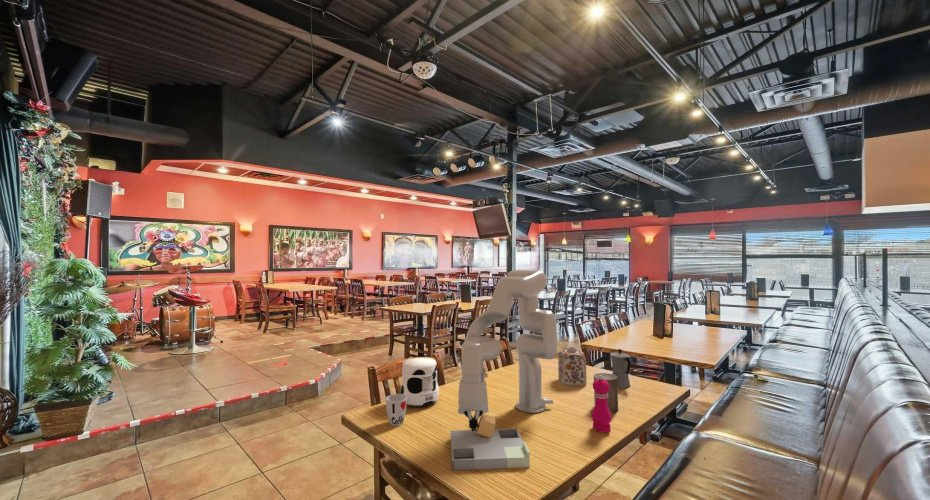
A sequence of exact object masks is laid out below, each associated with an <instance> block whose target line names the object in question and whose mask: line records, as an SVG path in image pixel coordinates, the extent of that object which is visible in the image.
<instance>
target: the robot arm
mask: <svg viewBox="0 0 930 500" xmlns="http://www.w3.org/2000/svg"><path fill="white" fill-rule="evenodd" d="M547 282H548V280H547V275H546V274H545V272H543V271H541V270H536V269H535V270H532V269H531V270H529V269H527V270H525V269H516V270H511V271H509V272H507V275H506V276H503V277H501V278H499V280H498V281H497V283H496V286H495V288H494V291H493V293H492V296H491V298H490V301H489V304H488V307H487V309H486V310H485V311H483V312H481V314H479V316H477V317H476V318H475V319H474V320H473V321H472V322H471V324H470V325H469V328H468V330H467V332H466V334H465V338H464V342H463V343H462V345H461V379H460V380H459V385H458V399H457V400H458V409H457V412H458V415H459V414H460V415H464V416H466V418H468V428H469V429H470V430H471V431H476V430H477V428H478V423H479V420H480V417H481V415H482V414H486V413H489V411H490V410H489V402H488V401H489V399H488V389H487V382H486V378H488V375H489V374H488V373H486V372H485V371H484V361H491V360H495V359H497V358H498V357H499V356H500V355H501V353H502V347H503V346H502V344H501V342H500V341H499V340H497V339H496V338H492V337H487V336H482V334H483V332H484V331H485V330H486V329H487V328H489V327H490V326H492V325H493V326H494V325H496V324H497V323H500V322H502V321H505V320H507V319H508V318H509V315H510V314H511V313H510V312H511V311H512V306H513V305H514V301H515V299H516V300H518V321H519V327H520V328H521V329H522V330H524V331H527V333H521V334H520V335H519V336H518V337H517V339H516V342H515V345H516V346H515V347H516V351H517V356H518V387H519V388H518V393H519V394H518V396H519V397H518V399H519V400H518V401H517V402H515V409H517V410H518V411H521V412H523V413H526V414H538V413H542V412H544V411H545V410H546V404H549V405H552V404H554V401H553V398H549V397H544V396H542V391H543V390H542V365H541V362H540V360H539V359H543V360H549V361H550V360H553V359H555V358H556V356H557V353H558V325H557V324H558V322H557V318H556V315H555V313H553V311H551V310H547V309H541V308H540V305H539V303H540V302H539V296H538V294H540V293H541V292H542V291H544V289H545V288H546V286H547ZM528 332H533V333H528ZM535 333H541V334H535ZM472 412H474V415H472Z"/></svg>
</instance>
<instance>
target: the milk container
mask: <svg viewBox="0 0 930 500" xmlns="http://www.w3.org/2000/svg"><path fill="white" fill-rule="evenodd" d="M401 369H402V371H401V372H402V373H401V378H402V380H401V381H402V383H401V387H400V391H399V394H403V395H406V396H407V400H406V406H409V407H413V408H417V407H426V406H430V405H433V404H434V403H436V402H437V401H438V399H439V396H440V388H439V387H440V386H439V383H438V365H437V361H436V359H433V358H429V357H428V358H427V357H415V358H414V357H413V358H409V359H406V360H404V361H403V362H402V367H401Z"/></svg>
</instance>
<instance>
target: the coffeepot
mask: <svg viewBox="0 0 930 500" xmlns="http://www.w3.org/2000/svg"><path fill="white" fill-rule="evenodd" d="M617 350H618V352H611V353H610V361H611V366H612V373H611V374H613V375H616V376H617V383H618V389H619V388H621V389H627V388H630V387H631V383H630V376H629V374H630V370H631V364H632V361H631V359H630V358H631V357H630V354H627V353H623V352H622V351H623V350H622V349H620V348H619V349H617Z"/></svg>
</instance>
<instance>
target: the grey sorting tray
mask: <svg viewBox="0 0 930 500" xmlns="http://www.w3.org/2000/svg"><path fill="white" fill-rule="evenodd" d="M450 447H451V448H450V451H451V453H450V455H451V470H452V471H466V470H471V471H472V470H489V469H490V470H491V469H512V468H513V469H517V468H531V464H530V463H531V461H530V460H531V459H530V456H531V455H530V453H531V452H530V450H529V447H528V445H527V443H526V441H523V438H522V437H521V434H520V432H519V430H518V428H494V431H493V434H492V437H491V438H489V437H486V436H483V435H481V434H478V433H477V429H476V431H471V429H462V430H450Z"/></svg>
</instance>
